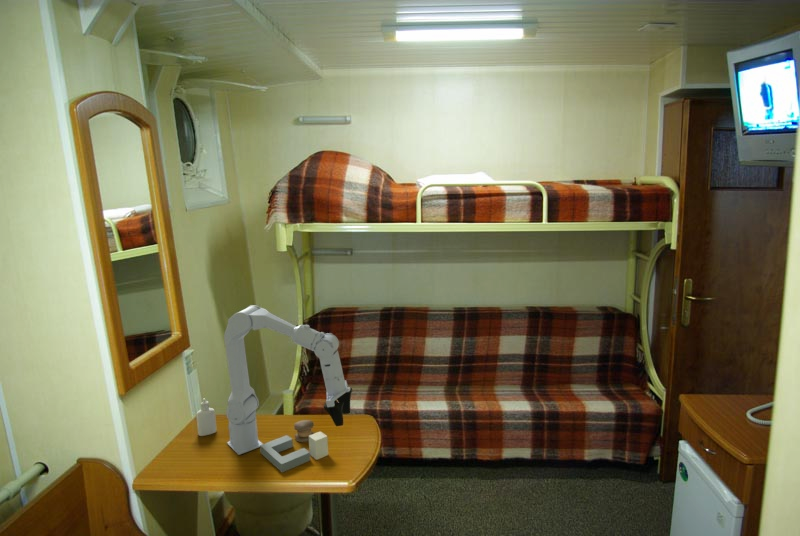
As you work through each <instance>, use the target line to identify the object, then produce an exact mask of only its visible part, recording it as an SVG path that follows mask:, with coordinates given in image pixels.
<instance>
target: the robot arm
mask: <svg viewBox="0 0 800 536" xmlns="http://www.w3.org/2000/svg"><path fill="white" fill-rule="evenodd" d="M310 326H311V325H309V324H299V325H297V326H296V325H294V324H293V323H291V322H289V321H287V320H285V319H282V318H281V317H278V316H277V315H275V314H273V313H271V312H270V311H268V310H267V309H266V308H263V307H260V306H259V305H255V304H254V305H253V304H251V305H249V306H247V307H246V308H244V309H242V310H240V311H237V312H235V313H233V314H232V316H231V317H230V318H228V319H227V326H226V329H225V330H224V334H223V339H224V344H225V345H224V347H225V353H226V361H227V366H228V375H229V382H230V389H231V392H230V395H229V396H228V400H227V409H226V412H225V415H226V418H227V420H228V432H229V441H227V442H226V444H227V446H229V447H230V448H231V449H232V450H233V451H234V452H235V453H236V454H237V455H242V454H245V453H249V452H251V451H253V450H255V449H258V448H260V445H262V444H264V443H263V442H262V441H260V440H259V437H258V436H259V435H258V425H257V413H256V412H257V411H256V410H257V409H258V407H259V405H260V401H259V398H258V397H257V395H256V391H255V389H254V388H253V387H252V386H251V385H250V377H249V370H248V362H247V355H246V354H247V353H246V346H245V339H244V338H245V336H247V335H248V334H249V332H250V331H251V330H252V331H257V330H260V329H261V330H262V329H265V328H266V329H269V330H271V331H275V332H277V333H279V334H282V335H285V336H286V337H287V336H288V337H291V340H292V342H293V343H294V344H296V345H298V346H300V347H303V348H305V349H307V350H310V351H312V352H313V353H314V354H315V356H316V357H317V358H318V359H319V362H320V368H321V372H322V376H323V381H324V385H325V389H326V400H325V403H324V405H323V409H324V411H326V412H327V413H328V415H329V416H330V418H331V419H332V422H333V423H334V426H335V427H340V426H341V427H342V426H343V425H344V415H347V414H350V413H351V396H352V393H353V388H352V387H350V386H349V385H348V382H347V379H346V380H345V377H344V376H345V375H344V372H343V371H344V370H343V366H342V362H341V357H340V354H339V350H338V348H339V347H340V341H339V339H338V337H337V336H336V335H334V334H333V333H332V332H329V333H328V332H327V333H325V332H324V331H321V332H320V331H317V329H314V328H311V327H310Z"/></svg>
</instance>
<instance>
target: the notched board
mask: <svg viewBox="0 0 800 536" xmlns="http://www.w3.org/2000/svg"><path fill="white" fill-rule="evenodd" d="M259 448H260V449H259V451H260V454H261V455H262V456H263V457H264V458H266V460H268V461H269V462H270V463H271V464H272V466H274V467H275V468H276V469H278V470H279V472H281V473H284V472H287V471H289V470H292V469H293V468H296V467H298V466H300V465H303V464H306V463H307V462H310V461H311V455H310V452H309V450H308V449H306V448H305V447H302V448H300V449H298V450H295V451H292V452H290V453H287V454H285V455H283V456H282V455H281V454H280V453H281V452H284V451H285V450H288V449H290V448H294V443H293V438H292V437H291V436H289V435H287V434H286V435H283V436H281V437H279V438H278V437H277V438H276V439H273V440H270V441H268V442H265V443H263V444H262V445H260V447H259Z"/></svg>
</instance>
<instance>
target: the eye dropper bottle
mask: <svg viewBox="0 0 800 536" xmlns="http://www.w3.org/2000/svg"><path fill="white" fill-rule="evenodd" d="M209 402H210V401H208V400H206V398H205V397H204V398H202V402H200V409H199V410H197V412H196V414H195V415H196V424H197V425H196V427H197V434H198V436H200V437H204V436H205V437H206V436H209V435H212V434H215V433H216V432H217V421H216V420H217V419H216V412H215V409H214V408H212V407H210V404H209Z"/></svg>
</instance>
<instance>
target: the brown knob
mask: <svg viewBox="0 0 800 536" xmlns="http://www.w3.org/2000/svg"><path fill="white" fill-rule="evenodd" d="M314 426H315V425H314V421H313V420H311V419H301V420H299V421H296V422H295V423H294V424H293V427H294V430H295V431H296V432H297V433H295V435H294V439H295V441H297V443H307V442H308V443H309V435H312V434H315V433H314V431H312V429H313V428H314Z"/></svg>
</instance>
